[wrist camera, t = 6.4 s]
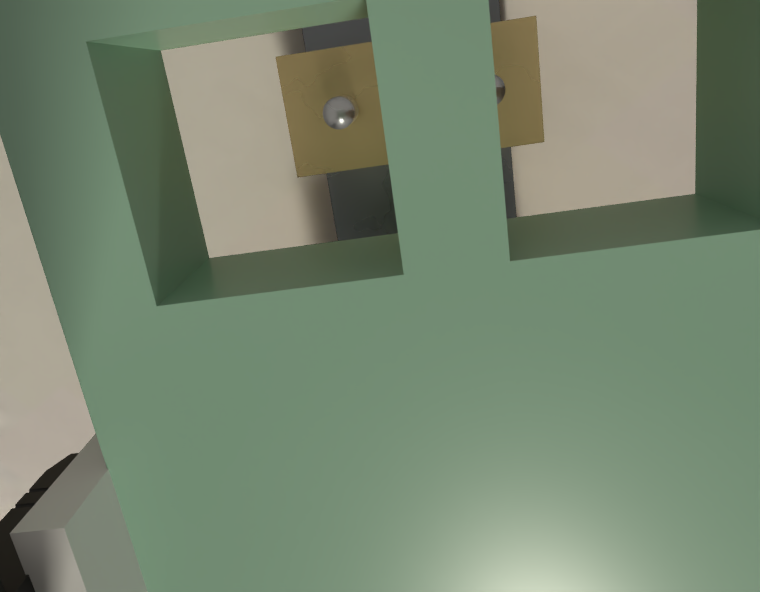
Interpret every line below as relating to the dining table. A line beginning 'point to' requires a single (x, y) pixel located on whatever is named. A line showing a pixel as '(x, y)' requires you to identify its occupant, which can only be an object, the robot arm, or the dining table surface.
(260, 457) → the board
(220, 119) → the dining table surface
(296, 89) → the chassis
